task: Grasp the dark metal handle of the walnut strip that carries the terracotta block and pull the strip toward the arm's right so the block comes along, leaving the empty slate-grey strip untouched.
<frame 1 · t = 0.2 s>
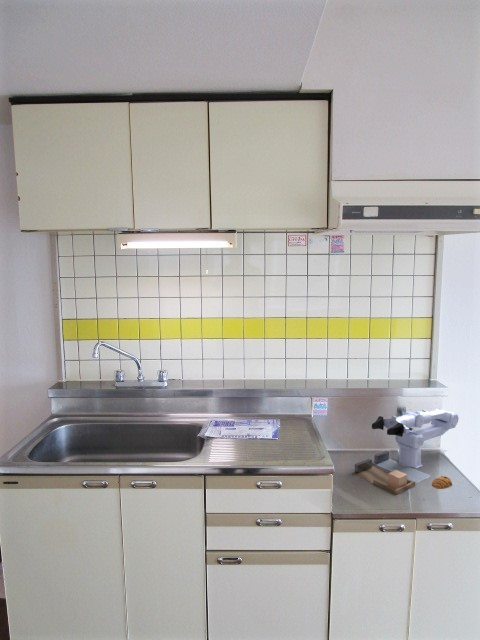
hand: (379, 429, 178), 21 cm above the counter, tool horizontal, fingers open, 7 cm apart
walnut strip: (382, 476, 176), point 3 cm above the counter, slide at 0.0 cm, touching terracotta block
terracotta block: (397, 486, 170), point 1 cm above the counter, touching walnut strip
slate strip: (401, 466, 184), point 3 cm above the counter, slide at 0.0 cm, touching arm
pastry: (441, 488, 172), on the counter
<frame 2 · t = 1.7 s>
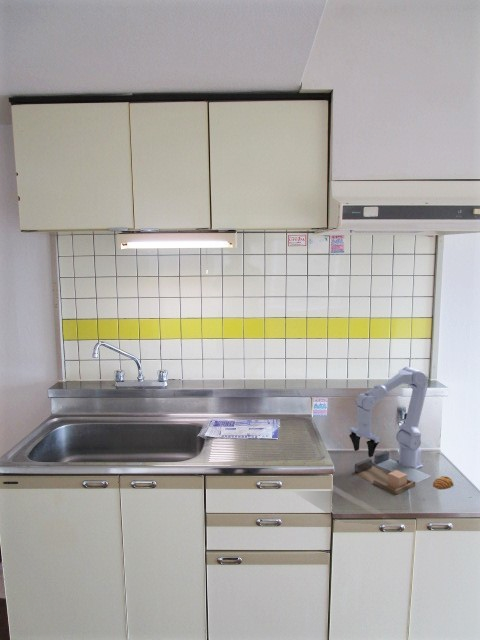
hand: (363, 453, 184), 9 cm above the counter, tool pointing down, fingers open, 7 cm apart
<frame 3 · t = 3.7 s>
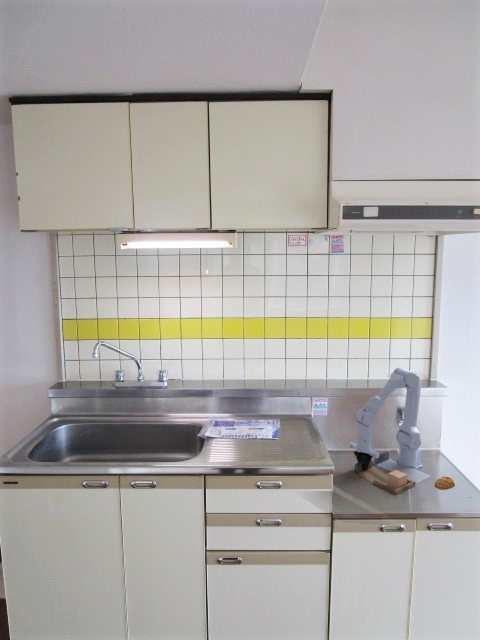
hand: (363, 468, 184), 2 cm above the counter, tool pointing down, fingers closed on walnut strip, 2 cm apart
walnut strip: (382, 476, 176), point 3 cm above the counter, slide at 0.0 cm, touching gripper, terracotta block
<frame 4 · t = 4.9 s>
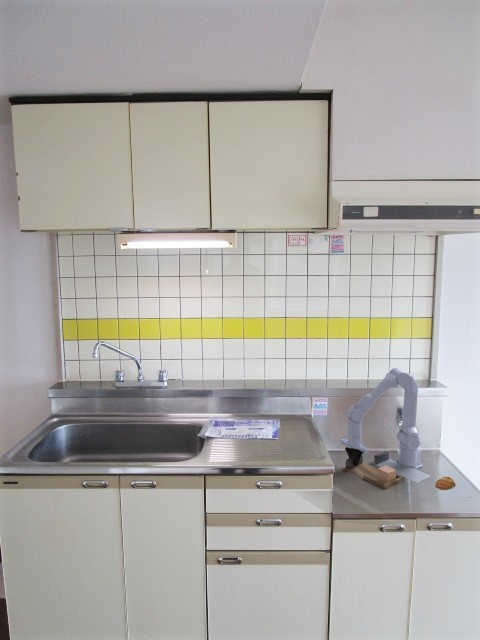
hand: (354, 464, 189), 2 cm above the counter, tool pointing down, fingers closed on walnut strip, 2 cm apart
walnut strip: (372, 471, 180), point 3 cm above the counter, slide at 5.0 cm, touching gripper, terracotta block
terracotta block: (386, 480, 175), point 1 cm above the counter, touching walnut strip
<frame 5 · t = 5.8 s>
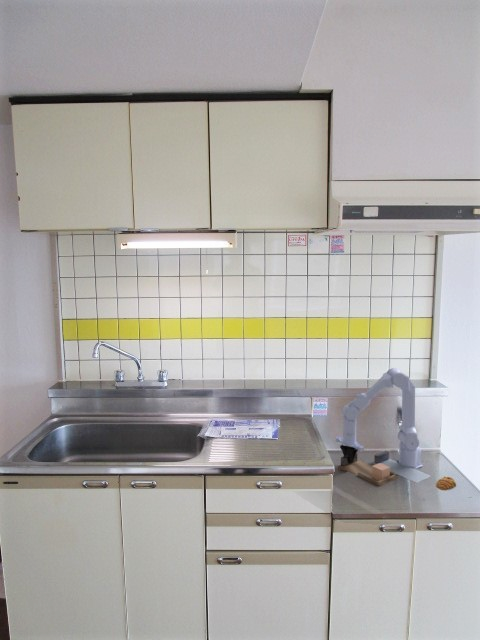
hand: (349, 461, 191), 2 cm above the counter, tool pointing down, fingers closed on walnut strip, 2 cm apart
walnut strip: (367, 469, 183), point 3 cm above the counter, slide at 8.0 cm, touching gripper, terracotta block
terracotta block: (380, 478, 177), point 1 cm above the counter, touching walnut strip
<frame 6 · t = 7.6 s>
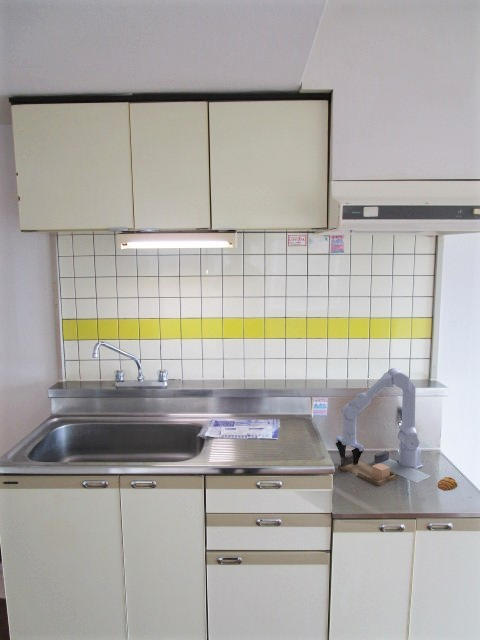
hand: (349, 461, 191), 3 cm above the counter, tool pointing down, fingers open, 7 cm apart
walnut strip: (367, 469, 183), point 3 cm above the counter, slide at 8.0 cm, touching terracotta block
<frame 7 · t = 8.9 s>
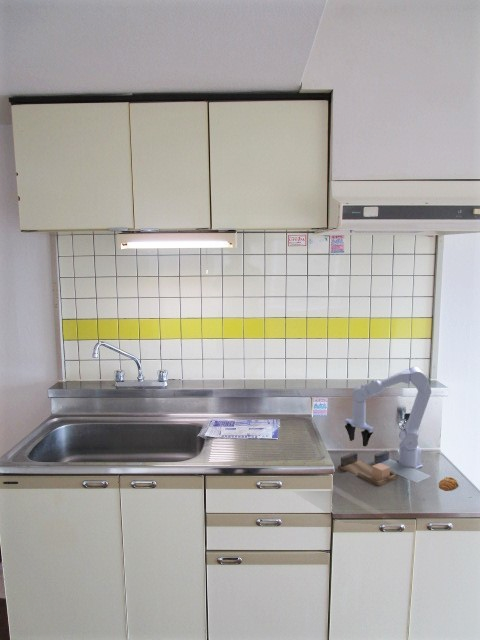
hand: (358, 443, 193), 9 cm above the counter, tool pointing down, fingers open, 7 cm apart
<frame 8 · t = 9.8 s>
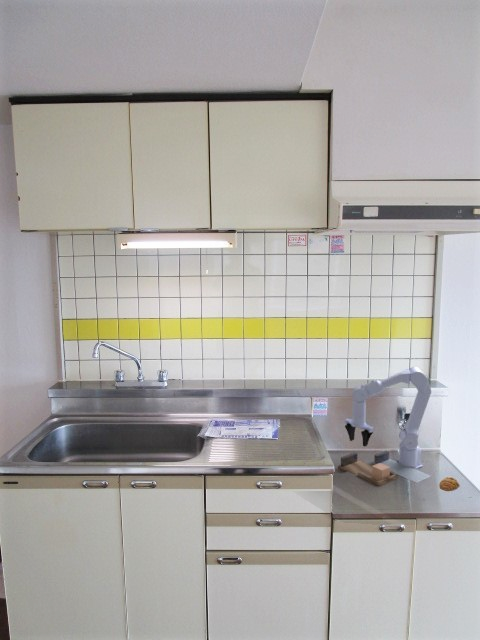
hand: (358, 443, 193), 9 cm above the counter, tool pointing down, fingers open, 7 cm apart
at the end: walnut strip slide at 8.0 cm; terracotta block inside the target area (0.0 cm from its centre), point 1.5 cm above the counter; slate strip slide at 0.0 cm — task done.
